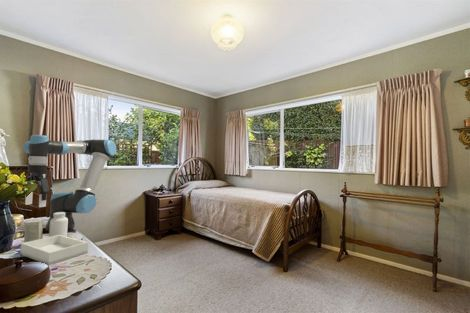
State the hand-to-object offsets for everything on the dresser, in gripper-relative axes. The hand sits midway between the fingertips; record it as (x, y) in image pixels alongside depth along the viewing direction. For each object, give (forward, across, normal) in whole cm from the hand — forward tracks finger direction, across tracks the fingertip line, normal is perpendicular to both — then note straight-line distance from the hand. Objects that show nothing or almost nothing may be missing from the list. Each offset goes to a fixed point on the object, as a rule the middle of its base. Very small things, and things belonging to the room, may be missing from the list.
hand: (35, 205), depth 121 cm
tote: (+20, +22, -1) cm, 30 cm away
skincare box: (+20, 0, 0) cm, 20 cm away
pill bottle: (+20, +3, +10) cm, 23 cm away
